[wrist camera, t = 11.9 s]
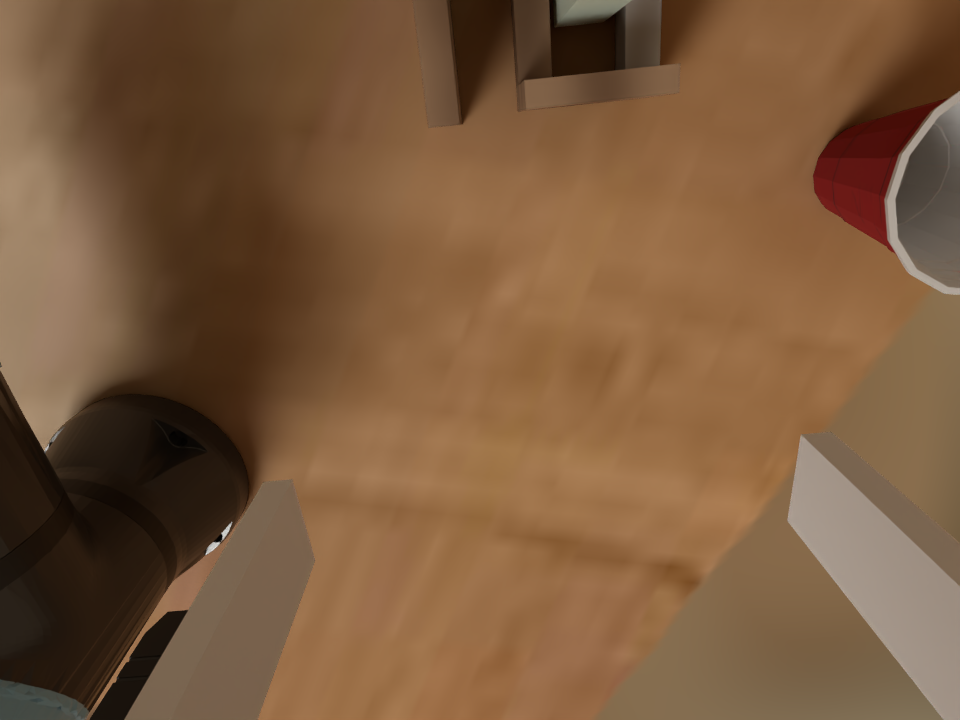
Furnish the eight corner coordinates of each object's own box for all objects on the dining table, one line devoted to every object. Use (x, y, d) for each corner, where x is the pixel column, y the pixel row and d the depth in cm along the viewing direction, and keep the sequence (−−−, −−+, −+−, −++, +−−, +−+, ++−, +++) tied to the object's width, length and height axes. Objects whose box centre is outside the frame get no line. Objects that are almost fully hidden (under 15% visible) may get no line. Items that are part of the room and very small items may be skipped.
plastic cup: (871, 36, 34) (1065, -6, 23) (971, 152, 36) (1188, 164, 25) (737, 182, 37) (849, 208, 26) (838, 278, 40) (977, 338, 29)
